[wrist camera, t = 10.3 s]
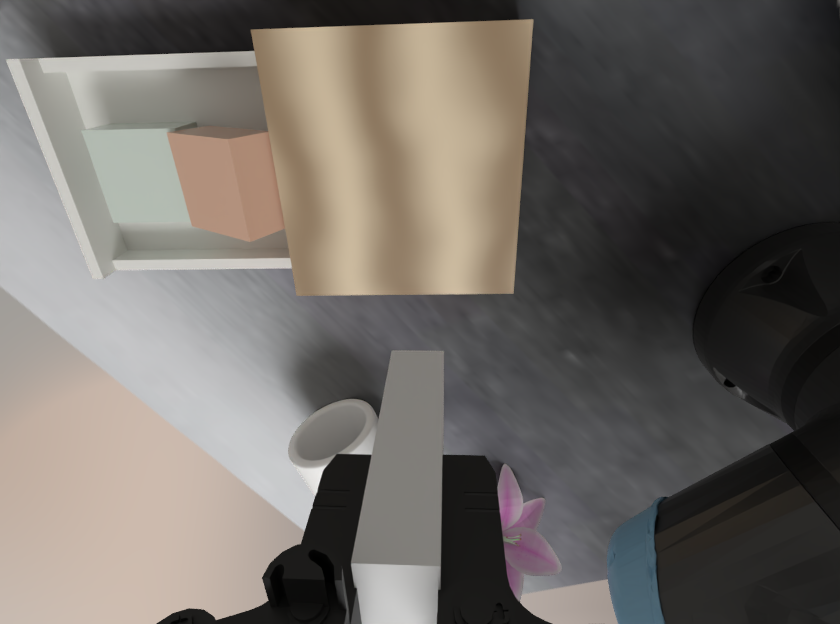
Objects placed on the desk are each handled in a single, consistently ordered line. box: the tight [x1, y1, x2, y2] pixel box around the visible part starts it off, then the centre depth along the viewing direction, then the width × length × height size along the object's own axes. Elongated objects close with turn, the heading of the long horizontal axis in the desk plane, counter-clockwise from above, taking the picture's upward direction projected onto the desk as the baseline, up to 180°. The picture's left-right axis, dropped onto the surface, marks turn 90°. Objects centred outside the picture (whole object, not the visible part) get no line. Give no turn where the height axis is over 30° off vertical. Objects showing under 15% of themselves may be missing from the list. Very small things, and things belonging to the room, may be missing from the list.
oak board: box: [251, 19, 533, 296], centre depth 31 cm, size 15×16×5 cm
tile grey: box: [81, 122, 197, 223], centre depth 33 cm, size 6×6×3 cm
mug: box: [288, 399, 379, 496], centre depth 43 cm, size 12×10×8 cm
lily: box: [497, 464, 562, 602], centre depth 47 cm, size 12×12×10 cm
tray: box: [6, 51, 292, 279], centre depth 32 cm, size 15×14×4 cm
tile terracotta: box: [166, 126, 285, 242], centre depth 30 cm, size 6×6×3 cm
